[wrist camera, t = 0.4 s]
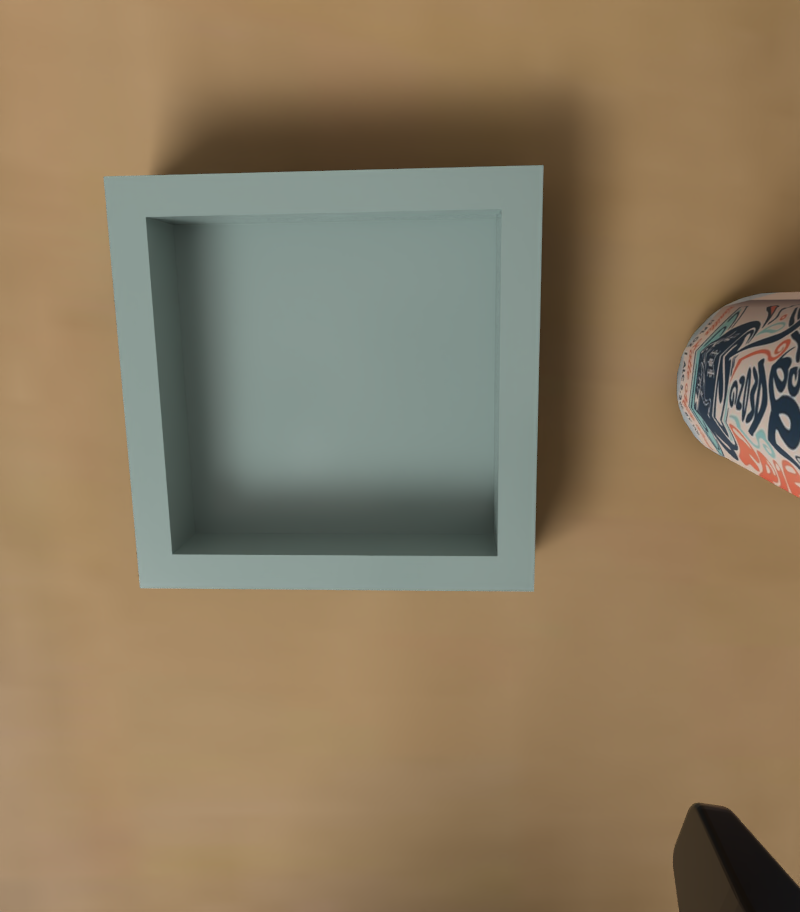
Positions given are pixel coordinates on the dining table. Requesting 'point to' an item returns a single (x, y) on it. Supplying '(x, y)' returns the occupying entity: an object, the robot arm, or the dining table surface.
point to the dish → (331, 376)
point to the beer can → (747, 385)
